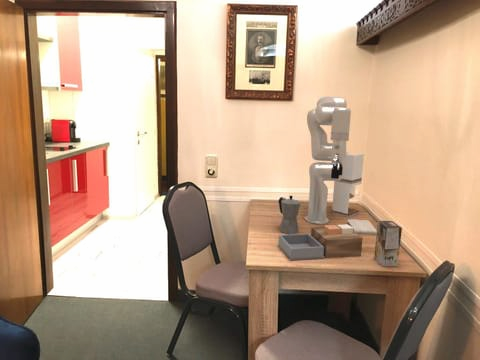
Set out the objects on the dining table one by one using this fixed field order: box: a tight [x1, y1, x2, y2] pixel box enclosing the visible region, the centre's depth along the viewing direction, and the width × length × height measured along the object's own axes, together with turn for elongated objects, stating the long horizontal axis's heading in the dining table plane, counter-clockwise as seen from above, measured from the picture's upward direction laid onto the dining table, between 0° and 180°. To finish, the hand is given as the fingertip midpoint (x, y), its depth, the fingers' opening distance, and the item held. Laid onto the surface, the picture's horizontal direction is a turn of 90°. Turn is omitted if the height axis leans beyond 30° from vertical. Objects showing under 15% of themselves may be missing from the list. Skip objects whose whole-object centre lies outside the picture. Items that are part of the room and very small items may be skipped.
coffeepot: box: [278, 195, 301, 235], centre depth 189 cm, size 15×9×18 cm, turn 33°
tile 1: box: [323, 224, 340, 235], centre depth 165 cm, size 5×5×2 cm
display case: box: [331, 150, 365, 219], centre depth 218 cm, size 11×11×35 cm
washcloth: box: [346, 218, 377, 235], centre depth 197 cm, size 12×18×3 cm, turn 177°
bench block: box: [310, 226, 363, 259], centre depth 167 cm, size 16×16×8 cm
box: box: [277, 233, 324, 262], centre depth 163 cm, size 16×14×5 cm
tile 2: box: [336, 223, 353, 234], centre depth 166 cm, size 5×5×2 cm
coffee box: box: [373, 220, 403, 267], centre depth 155 cm, size 9×6×16 cm
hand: (336, 176), depth 167 cm, fingers open, 9 cm apart
